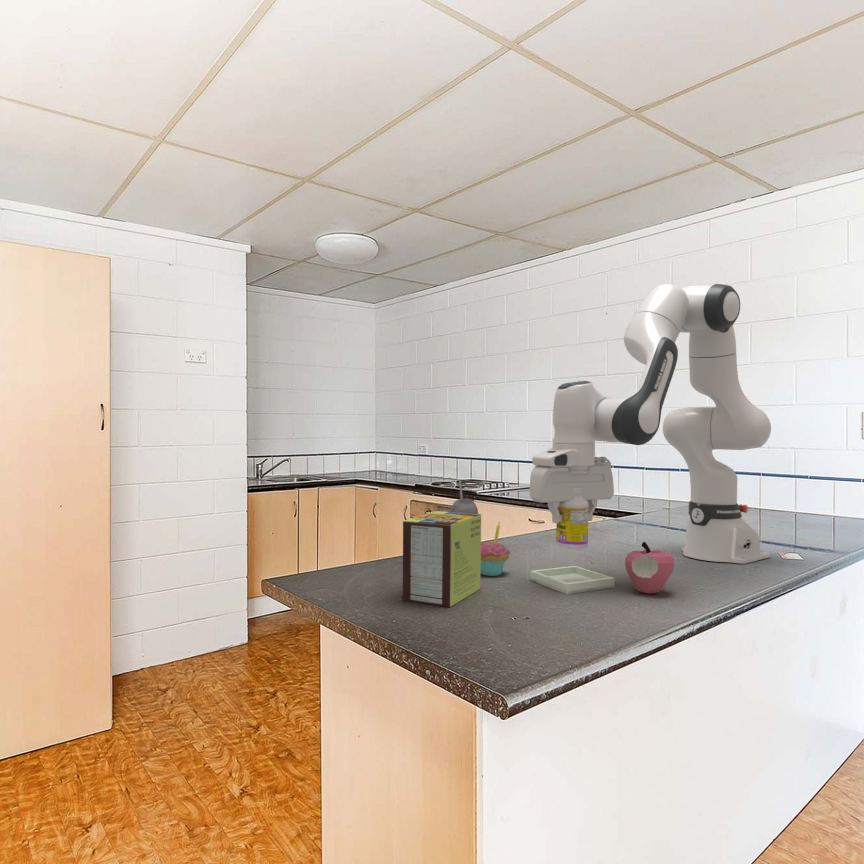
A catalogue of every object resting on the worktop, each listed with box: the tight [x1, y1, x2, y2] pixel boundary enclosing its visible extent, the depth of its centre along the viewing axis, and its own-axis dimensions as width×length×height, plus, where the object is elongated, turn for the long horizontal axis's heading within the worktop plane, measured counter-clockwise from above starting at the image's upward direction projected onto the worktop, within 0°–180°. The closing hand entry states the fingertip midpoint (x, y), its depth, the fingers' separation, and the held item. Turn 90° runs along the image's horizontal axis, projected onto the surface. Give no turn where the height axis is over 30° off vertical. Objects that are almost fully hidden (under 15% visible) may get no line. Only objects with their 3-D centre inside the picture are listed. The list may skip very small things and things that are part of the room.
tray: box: [529, 565, 616, 595], centre depth 135 cm, size 13×13×2 cm
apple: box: [624, 541, 675, 595], centre depth 129 cm, size 10×9×10 cm
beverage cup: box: [449, 479, 479, 514], centre depth 157 cm, size 7×7×20 cm
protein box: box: [402, 510, 482, 608], centre depth 126 cm, size 10×15×16 cm
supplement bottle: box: [555, 487, 589, 550], centre depth 135 cm, size 7×7×13 cm
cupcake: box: [480, 521, 511, 577], centre depth 144 cm, size 9×8×12 cm
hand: (572, 521), depth 135 cm, fingers closed on supplement bottle, 7 cm apart
